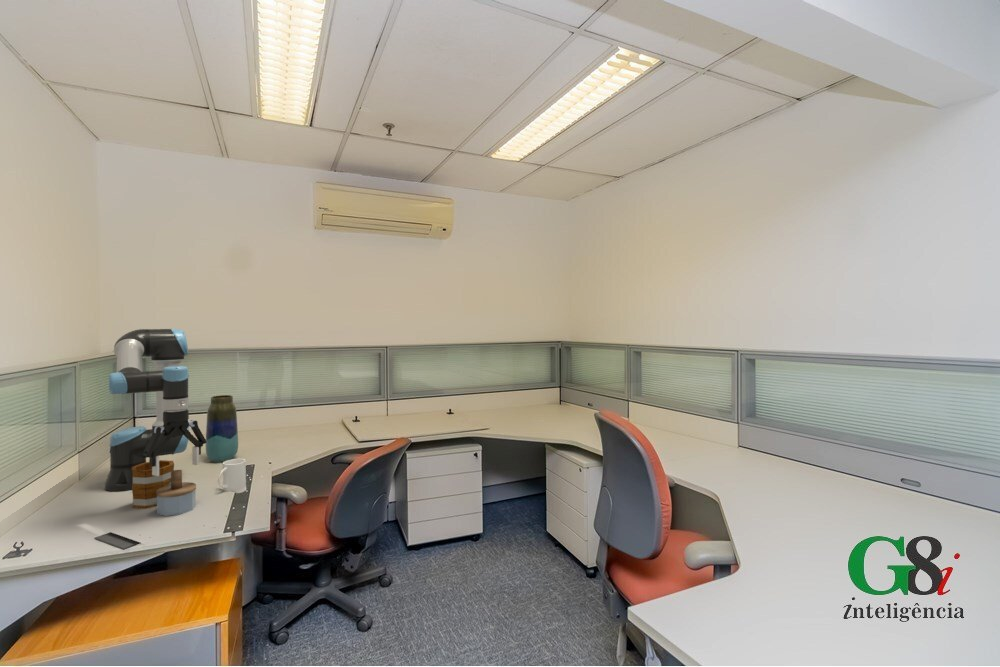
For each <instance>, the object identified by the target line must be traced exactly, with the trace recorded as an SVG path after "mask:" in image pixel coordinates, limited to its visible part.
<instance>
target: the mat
mask: <svg viewBox="0 0 1000 667" xmlns="http://www.w3.org/2000/svg"><path fill="white" fill-rule="evenodd" d="M94 540H97V541H99V542H102V543H104V544H107V545H110V546H113V547H116V548H118V549H121V550H124V551H125V550H126V549H129V548H132V547H135V546H137V545H140V544H141V542H140V541H137V540H134V539H131V538H129V537H127V536H126V537H125V536H123V535H120V534H116V533H114V532H111V531H110V532H107V533H104V534H101V535H99V536H95V537H94Z"/></svg>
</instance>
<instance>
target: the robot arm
mask: <svg viewBox="0 0 1000 667" xmlns="http://www.w3.org/2000/svg"><path fill="white" fill-rule="evenodd" d="M113 353H114V355H115V357H116V372H111V373H110V374H109V376H108V390H109V391H108V392H109V393H110V394H112V395H126V394H127V395H129V394H137V393H138V394H139V393H151V392H154V393H155V396H156V397H155V398H156V399H155V401H156V403H155V404H156V407H155V408H156V409H155V410H156V421H154V422H153V423H152V424H151V425H152V426H151V428H150V429H147V428H146V426H142V425H141V426H134V427H133V426H132V427H128V428H124V429H120V430H117V431H116V432H113V433H112V434H111V436H110V440H109V447H110V449H109V450H110V457H109V458H110V459H109V460H110V461H109V462H110V464H109V465H110V467H109V468H110V470H109V472H108V474H107V478H106V479H105V480H106V481H105V483H104V489H105V491H109V492H125V491H132V482H133V474H132V467H133V466H136V465H139V464H142V463H145V462H147V458H149V461H148V462H149V464H150V466H151V467H152V475H154V476H159V460H160V456H168V455H172V456H173V455H176V454H181V453H184V452H185V451H186V450H187V448H188V442H189V443H191V444H193V446H192V447H191V450H192V451H191V455H192V459H191V460H192V462H191V463H192V465H194V466H199V465H200V456H201V455H202V447H203V445H204V444H205V445H206V442H207V441H206V437H205V436H204V434H203V432H202V430H201V428H200V427H199V423H198V420H194V419H191V420H190V421H189V419H190V418H189V417H190V416H189V415H190V413H189V409H188V408H189V377H190V375H189V368H188V367H187V366H184V365H181V363H182V362H184V361H185V357H186V356H188V355H189V347H188V340H187V335H186V333H185V331H184V330H182V329H179V328H148V329H147V328H145V329H144V328H139V329H135V330H132V331H129V332H127V333H125V334H124V335H122V336H120V337H119V338H118V339H117V341H116V342H115V344H114V346H113ZM142 357H146V358H147V357H149V358H150V357H151V358H150V359H151V360H150V361H151V362H152V363H153V364H155V370H150V371H149V370H147V371H146V370H144V371H143V359H142ZM190 428H191V430H192V432H193V434H194V435H193V434H192V433H191V432H190Z"/></svg>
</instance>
